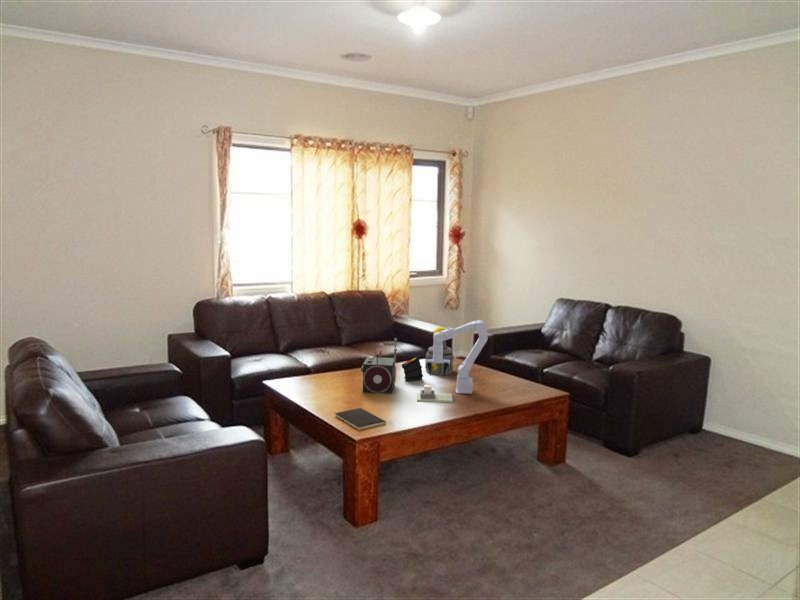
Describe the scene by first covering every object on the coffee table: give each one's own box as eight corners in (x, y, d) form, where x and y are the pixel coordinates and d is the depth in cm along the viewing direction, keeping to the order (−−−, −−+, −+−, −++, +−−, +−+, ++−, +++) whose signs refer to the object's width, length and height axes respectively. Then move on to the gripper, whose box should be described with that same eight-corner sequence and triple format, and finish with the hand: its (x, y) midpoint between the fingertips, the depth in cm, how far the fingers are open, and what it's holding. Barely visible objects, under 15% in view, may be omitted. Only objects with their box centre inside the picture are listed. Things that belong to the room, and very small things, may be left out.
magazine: (427, 377, 372) (418, 357, 368) (409, 388, 369) (400, 367, 365) (425, 376, 376) (416, 355, 371) (407, 386, 372) (398, 366, 368)
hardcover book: (358, 431, 286) (358, 426, 286) (334, 417, 305) (334, 413, 304) (385, 424, 296) (385, 420, 295) (361, 411, 314) (361, 407, 314)
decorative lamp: (448, 376, 381) (450, 331, 377) (421, 373, 388) (422, 328, 383) (456, 369, 399) (458, 325, 394) (430, 366, 405) (431, 323, 401)
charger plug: (430, 394, 339) (431, 384, 338) (431, 397, 335) (431, 386, 334) (423, 394, 339) (424, 384, 338) (424, 397, 335) (424, 386, 334)
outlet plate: (451, 395, 343) (451, 389, 342) (452, 402, 331) (453, 396, 330) (416, 394, 343) (417, 388, 343) (416, 401, 331) (417, 395, 331)
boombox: (364, 383, 362) (365, 335, 358) (398, 385, 361) (399, 337, 356) (360, 392, 344) (360, 342, 340) (395, 394, 343) (396, 343, 338)
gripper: (449, 351, 352) (449, 373, 354) (425, 351, 352) (424, 373, 354) (450, 354, 345) (449, 376, 347) (425, 353, 345) (425, 376, 347)
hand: (437, 375), depth 350 cm, fingers open, 7 cm apart
